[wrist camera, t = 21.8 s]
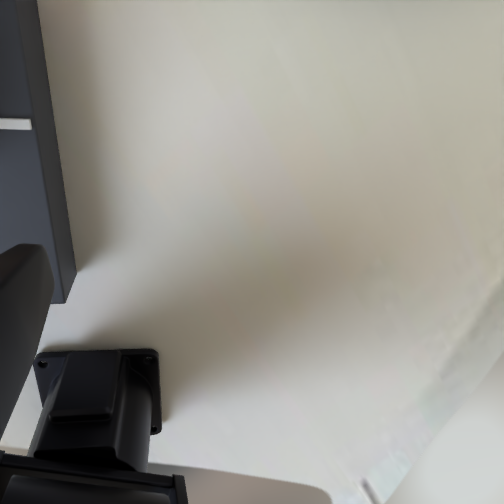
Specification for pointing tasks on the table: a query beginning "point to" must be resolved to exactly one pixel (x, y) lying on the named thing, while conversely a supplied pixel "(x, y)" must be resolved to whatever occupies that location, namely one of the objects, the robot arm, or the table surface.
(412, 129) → the table surface
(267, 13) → the table surface
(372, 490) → the table surface
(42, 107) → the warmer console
